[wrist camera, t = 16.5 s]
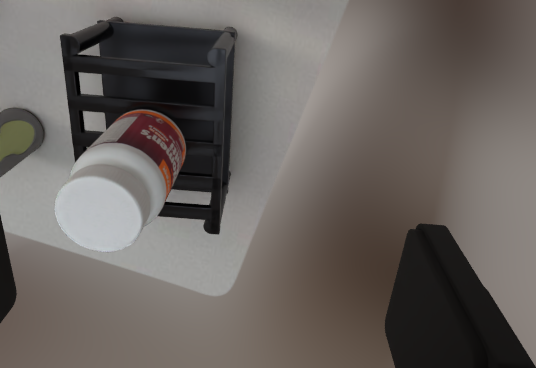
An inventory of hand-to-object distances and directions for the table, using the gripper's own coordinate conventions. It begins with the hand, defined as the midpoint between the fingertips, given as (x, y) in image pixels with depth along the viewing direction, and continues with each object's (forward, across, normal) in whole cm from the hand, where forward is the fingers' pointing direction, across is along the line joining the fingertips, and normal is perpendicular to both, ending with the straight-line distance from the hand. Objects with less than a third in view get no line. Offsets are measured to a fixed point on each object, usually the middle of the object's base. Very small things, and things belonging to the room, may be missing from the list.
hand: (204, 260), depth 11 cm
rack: (+36, +8, +8) cm, 38 cm away
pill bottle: (+26, +8, +8) cm, 28 cm away
